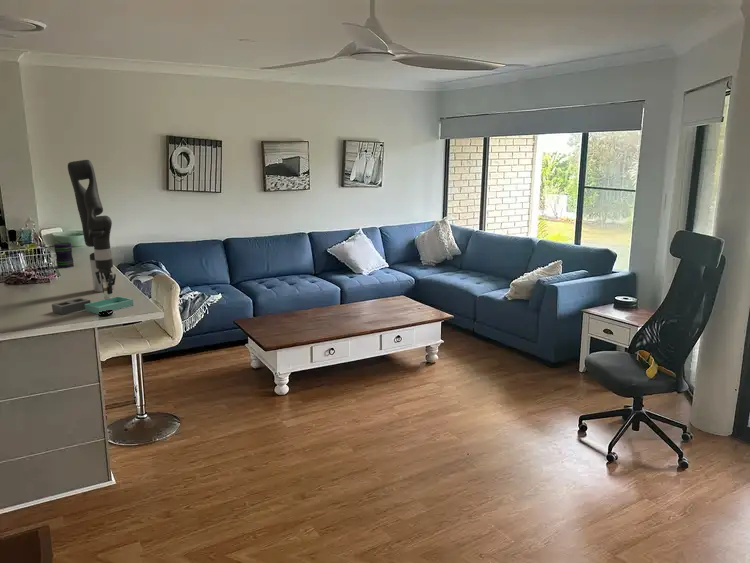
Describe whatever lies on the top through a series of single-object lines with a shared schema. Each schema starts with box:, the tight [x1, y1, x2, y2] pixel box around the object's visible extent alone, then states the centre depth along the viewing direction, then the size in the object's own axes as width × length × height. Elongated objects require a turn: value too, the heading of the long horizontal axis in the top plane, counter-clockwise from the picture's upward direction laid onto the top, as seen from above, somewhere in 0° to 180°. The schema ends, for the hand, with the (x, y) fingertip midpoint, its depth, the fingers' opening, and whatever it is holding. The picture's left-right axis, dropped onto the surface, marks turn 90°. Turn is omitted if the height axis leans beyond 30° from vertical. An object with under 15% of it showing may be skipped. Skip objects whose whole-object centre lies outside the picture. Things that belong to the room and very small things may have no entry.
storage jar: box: [53, 242, 75, 269], centre depth 387 cm, size 10×10×15 cm
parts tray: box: [84, 295, 134, 315], centre depth 291 cm, size 18×12×3 cm, turn 146°
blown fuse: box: [102, 279, 113, 300], centre depth 289 cm, size 3×3×10 cm
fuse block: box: [51, 297, 92, 316], centre depth 288 cm, size 14×9×4 cm, turn 146°
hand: (107, 293), depth 290 cm, fingers closed on blown fuse, 3 cm apart
